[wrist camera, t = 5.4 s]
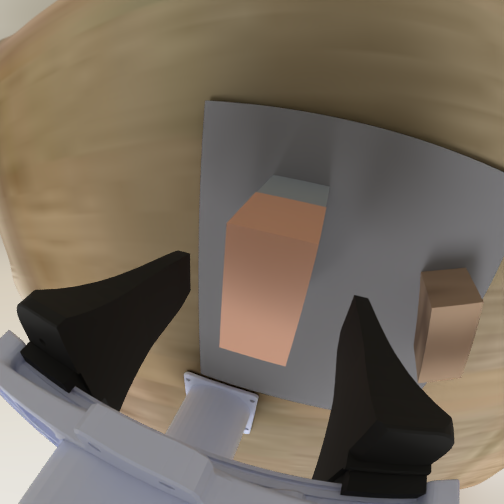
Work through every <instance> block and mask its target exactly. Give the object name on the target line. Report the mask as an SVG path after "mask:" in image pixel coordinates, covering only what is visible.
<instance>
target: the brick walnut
mask: <svg viewBox="0 0 504 504" xmlns="http://www.w3.org/2000/svg"><path fill="white" fill-rule="evenodd" d="M482 307H483V300H482V298H481V296H480V294H479V292H478V290H477V288H476V286H475V284H474V282H473V280H472V278H471V276H470V274H469V272H468V271H467V269H466V268H457V269H446V270H435V271H424V272H421V278H420V292H419V304H418V314H417V323H416V331H415V338H414V345H413V346H414V353H415V361H416V370H417V380H418V383H425V382H434V381H442V380H450V379H457V378H461V376H462V374H463V371H464V368H465V365H466V362H467V359H468V356H469V353H470V350H471V347H472V344H473V340H474V337H475V334H476V330H477V326H478V323H479V319H480V315H481V311H482Z"/></svg>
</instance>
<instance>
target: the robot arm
mask: <svg viewBox="0 0 504 504" xmlns="http://www.w3.org/2000/svg"><path fill="white" fill-rule="evenodd" d="M190 290H191V289H190V254H189V253H185V252H182V251H175V252H172V253H170V254H168V255H165V256H163V257H161V258H158V259H156V260H154V261H152V262H149V263H147V264H145V265H143V266H140V267H138V268H136V269H133V270H131V271H128V272H126V273H123V274H121V275H118V276H115V277H112V278H109V279H105V280H102V281H98V282H94V283H90V284H85V285H81V286H75V287H69V288H61V289H45V290H34V291H33V292H32V293H31V294H30V295H29V296H27V297H26V298H25V299H24V300H23V301H22V302H20V303H19V304H18V306H17V313H18V317H19V320H20V322H21V324H22V326H23V328H24V330H25V332H26V334H27V336H28V338H29V340H30V342H29V343H28V344H27V345H25V343H24V342H23V341H22V340H21V339H20V338H19V337H17V336H16V335H15V334H14V333H13V332H11V331H10V330H8V331H7V332H6V333H5V334H4V335H3V336H2V337H1V338H0V395H1V396H2V397H3V398H4V399H5V400H6V401H7V402H8V403H9V404H10V405H11V406H12V407H13V408H14V409H15V410H16V411H17V412H18V413H19V414H20V415H21V416H22V417H23V418H25V420H27V421H28V422H29V423H30V424H31V425H32V426H33V427H34V428H36V430H38V431H39V432H40V433H41V434H42V435H43V436H45V437H46V438H47V439H48V440H49V441H51V442H52V443H53V444H54V445H55V446H57V449H56V450H55V451H54V453H53V455H52V456H51V457H50V458H49V460H48V461H47V463H46V464H45V466H44V467H43V468H42V470H41V471H40V473H39V474H38V476H37V477H36V479H35V480H34V481H33V483H32V484H31V486H30V487H29V489H28V490H27V492H26V493H25V495H24V496H23V498H22V499H21V500H20V502H19V504H459V480H458V479H452V480H436V481H430V482H427V475H429V474H430V473H431V464H432V463H434V462H435V461H436V460H438V459H439V458H441V457H442V456H443V455H445V454H446V453H447V452H448V451H449V450H450V449H451V448H452V446H453V445H454V429H453V422H452V418H451V417H450V416H449V415H448V414H447V413H446V412H445V411H444V410H442V409H441V408H440V407H439V406H438V405H437V404H436V403H435V402H434V401H433V400H432V399H431V398H430V397H429V396H428V395H427V394H426V393H425V392H424V391H423V390H422V389H421V388H420V386H419V385H418V384H417V383H416V382H415V380H414V379H413V378H412V377H411V375H410V374H409V373H408V371H407V370H406V369H405V367H404V366H403V364H402V363H401V361H400V360H399V358H398V357H397V355H396V354H395V352H394V350H393V348H392V347H391V345H390V343H389V341H388V339H387V337H386V335H385V333H384V331H383V329H382V327H381V325H380V323H379V321H378V319H377V316H376V314H375V312H374V310H373V307H372V305H371V303H370V301H369V299H368V298H366V297H361V296H357V295H354V297H353V300H352V302H351V305H350V308H349V310H348V313H347V315H346V318H345V320H344V323H343V326H342V328H341V331H340V336H339V342H338V348H337V357H336V372H335V386H334V396H333V404H332V408H331V413H330V418H329V422H328V426H327V430H326V434H325V438H324V442H323V445H322V449H321V452H320V456H319V459H318V462H317V465H316V468H315V471H314V474H313V477H312V479H308V478H303V477H297V476H293V475H288V474H283V473H279V472H275V471H271V470H267V469H263V468H259V467H255V466H252V465H248V464H245V463H242V462H238V461H235V460H233V458H234V455H235V453H236V450H237V448H238V445H239V443H240V440H241V438H242V435H243V433H245V434H249V433H250V431H251V427H252V423H253V419H254V415H255V410H256V406H257V402H258V398H259V397H258V395H257V394H255V393H251V392H248V391H245V390H241V389H238V388H235V387H232V386H229V385H225V384H222V383H219V382H216V381H213V380H211V379H208V378H205V377H202V376H199V375H196V374H194V373H191V372H185V373H184V381H185V389H186V397H185V399H184V401H183V403H182V404H181V406H180V408H179V410H178V412H177V413H176V415H175V417H174V419H173V421H172V422H171V424H170V426H169V428H168V429H167V431H166V433H165V434H163V433H161V432H159V431H157V430H154V429H152V428H150V427H148V426H146V425H144V424H142V423H140V422H138V421H136V420H134V419H132V418H130V417H128V416H126V415H124V414H122V413H120V412H119V411H120V409H121V407H122V404H123V402H124V399H125V397H126V395H127V393H128V390H129V388H130V386H131V384H132V382H133V380H134V378H135V376H136V374H137V372H138V370H139V368H140V366H141V364H142V363H143V361H144V359H145V357H146V356H147V354H148V352H149V350H150V349H151V347H152V346H153V344H154V343H155V341H156V340H157V339H158V337H159V336H160V335H161V333H162V332H163V331H164V330H165V328H166V327H167V326H168V324H169V323H170V322H171V320H172V319H173V318H174V316H175V315H176V314H177V312H178V311H179V310H180V308H181V307H182V305H183V303H184V302H185V300H186V298H187V296H188V294H189V292H190Z"/></svg>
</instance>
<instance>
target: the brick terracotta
mask: <svg viewBox="0 0 504 504" xmlns="http://www.w3.org/2000/svg"><path fill="white" fill-rule="evenodd" d="M325 212H326V207H323V206H319V205H314V204H310V203H306V202H301V201H297V200H292V199H288V198H283V197H278V196H273V195H269V194H264V193H259V192H255V193H254V194H253V195H252V196H251V198H250V199H249V200H248V201H247V202H246V203H245V204H244V205H243V206H242V207H241V208H240V209H239V210H238V211H237V212H236V214H235V215H234V216H233V217H232V218H231V219H230V220H229V221H228V222H227V226H226V240H225V255H224V271H223V287H222V305H221V324H220V344H219V347H220V348H224V349H227V350H230V351H233V352H236V353H240V354H243V355H246V356H250V357H253V358H256V359H260V360H263V361H267V362H271V363H274V364H278V365H282V366H286V363H287V360H288V356H289V353H290V350H291V346H292V343H293V340H294V336H295V333H296V329H297V326H298V322H299V319H300V315H301V312H302V308H303V304H304V301H305V297H306V293H307V289H308V286H309V282H310V278H311V274H312V270H313V266H314V262H315V258H316V254H317V250H318V246H319V241H320V237H321V232H322V227H323V222H324V217H325Z"/></svg>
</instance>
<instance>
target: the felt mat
mask: <svg viewBox="0 0 504 504" xmlns="http://www.w3.org/2000/svg"><path fill="white" fill-rule="evenodd" d="M273 175H277V176H282V177H287V178H292V179H297V180H302V181H306V182H311V183H316V184H320V185H325V186H329V187H330V188H329V194H328V199H327V204H326V212H325V217H324V222H323V227H322V232H321V237H320V241H319V246H318V250H317V254H316V258H315V262H314V266H313V270H312V274H311V278H310V282H309V286H308V289H307V293H306V297H305V301H304V304H303V308H302V312H301V315H300V319H299V322H298V326H297V329H296V333H295V336H294V340H293V343H292V346H291V350H290V353H289V356H288V360H287V363H286V366H282V365H278V364H274V363H271V362H267V361H263V360H260V359H256V358H253V357H250V356H246V355H243V354H240V353H236V352H233V351H230V350H227V349H224V348H220V347H219V344H220V324H221V305H222V287H223V271H224V255H225V240H226V226H227V222H228V221H229V220H230V219H231V218H232V217H233V216H234V215H235V214H236V212H237V211H238V210H239V209H240V208H241V207H242V206H243V205H244V204H245V203H246V202H247V201H248V200H249V199H250V198H251V196H252V195H253V194H254V193H255V192H257V191H258V190H259V189H260V188H261V187H262V186H263V185H264V184H265V183H266V182H267V181H268V180H269V179H270V178H271V177H272V176H273ZM503 257H504V172H502V171H500V170H498V169H496V168H494V167H491V166H489V165H487V164H484V163H482V162H480V161H477V160H475V159H472V158H470V157H468V156H465V155H462V154H460V153H457V152H455V151H452V150H449V149H446V148H444V147H441V146H438V145H435V144H432V143H429V142H426V141H423V140H420V139H417V138H414V137H411V136H407V135H404V134H401V133H397V132H394V131H390V130H387V129H383V128H379V127H375V126H371V125H367V124H363V123H359V122H355V121H350V120H346V119H341V118H337V117H332V116H327V115H322V114H316V113H311V112H305V111H299V110H293V109H286V108H279V107H272V106H264V105H255V104H246V103H235V102H223V101H205V110H204V124H203V140H202V158H201V180H200V210H199V337H200V366H201V374H203V375H206V376H209V377H212V378H214V379H217V380H220V381H223V382H227V383H230V384H233V385H236V386H239V387H242V388H246V389H249V390H252V391H256V392H259V393H263V394H267V395H270V396H274V397H278V398H281V399H285V400H289V401H293V402H298V403H302V404H306V405H310V406H315V407H320V408H324V409H329V410H331V408H332V404H333V396H334V386H335V372H336V357H337V348H338V342H339V336H340V331H341V328H342V326H343V323H344V320H345V318H346V315H347V313H348V310H349V308H350V305H351V302H352V300H353V297H354V295H357V296H361V297H366V298H368V299H369V301H370V303H371V305H372V307H373V310H374V312H375V314H376V316H377V319H378V321H379V323H380V325H381V327H382V329H383V331H384V333H385V335H386V337H387V339H388V341H389V343H390V345H391V347H392V348H393V350H394V352H395V354H396V355H397V357H398V358H399V360H400V361H401V363H402V364H403V366H404V367H405V369H406V370H407V371H408V373H409V374H410V375H411V377H412V378H413V379H414V380H415V382H416V383H417V384H418V385H419V386H420V388H421V389H422V388H423V387H424V386H425V384H426V383H427V382H425V383H418V380H417V370H416V361H415V353H414V346H413V345H414V338H415V331H416V323H417V314H418V304H419V292H420V278H421V272H424V271H435V270H446V269H457V268H466V269H467V271H468V272H469V274H470V276H471V278H472V280H473V282H474V284H475V286H476V288H477V290H478V292H479V294H480V296H481V298H482V299H483V297H484V295H485V293H486V291H487V289H488V288H489V286H490V284H491V282H492V280H493V278H494V276H495V274H496V272H497V270H498V267H499V265H500V263H501V261H502V259H503Z"/></svg>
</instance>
